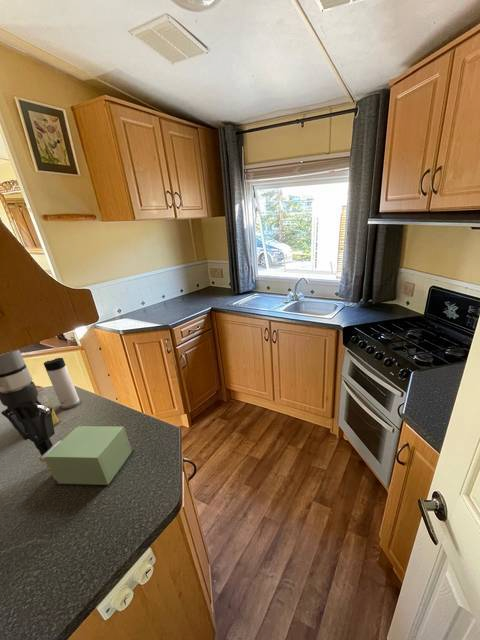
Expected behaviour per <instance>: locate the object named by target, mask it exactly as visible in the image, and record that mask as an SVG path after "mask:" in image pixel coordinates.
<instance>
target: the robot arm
mask: <svg viewBox="0 0 480 640" xmlns="http://www.w3.org/2000/svg"><path fill="white" fill-rule="evenodd" d="M35 385H36V384H35V382H34V381H33V377H32V375H31V372H30V370H29V368H28V366H27V365H26V361H25V360H24V358H23V355H22V353H21V351H20V349H19V350H17V351H14V352H12V353H8V354H5V355H2V356H0V403H1V404H2V405H3V407H6V408H5V409H4V410H2V411H1V412H0V413H1V415H3V416H4V417H5V418H6V419H7V420H8V421H9V422H10V424H11V425H12V426H13V428H15V430H16V431H17V433H19V435H20V436H21V437H22V438H23V440H24V441H25V440H26V441H27V440H30V442H32V443H33V445H34V447H35V448H36V449H37V450H38V452H39V454H40V457H41V456H42V455H43V454H44V453H46V452H47V451H48V450H49V449H50V448H51V447H52V446H53V445H54V444H53V443H52V440H51V437H53V436H54V435H55V434H56V433H55V425H53V420H52V415H51V413H52V410H54V407H53V406H52V407H50V406H49V407H47V408H46V407H44V406H42V404H41V402H40V401H39V400H38V399H37V396H38V391H37V388H36V386H37V385H36V386H35Z"/></svg>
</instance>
